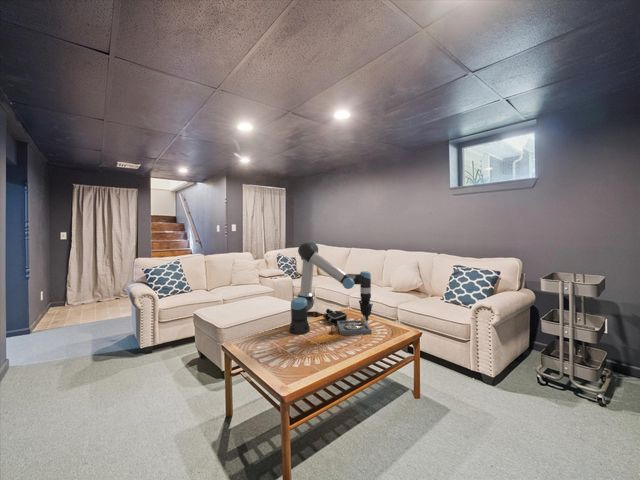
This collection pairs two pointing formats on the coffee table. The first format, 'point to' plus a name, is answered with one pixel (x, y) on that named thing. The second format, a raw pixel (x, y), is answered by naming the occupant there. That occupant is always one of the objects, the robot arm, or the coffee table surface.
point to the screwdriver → (334, 330)
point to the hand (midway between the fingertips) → (365, 324)
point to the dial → (354, 325)
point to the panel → (345, 331)
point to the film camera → (335, 316)
